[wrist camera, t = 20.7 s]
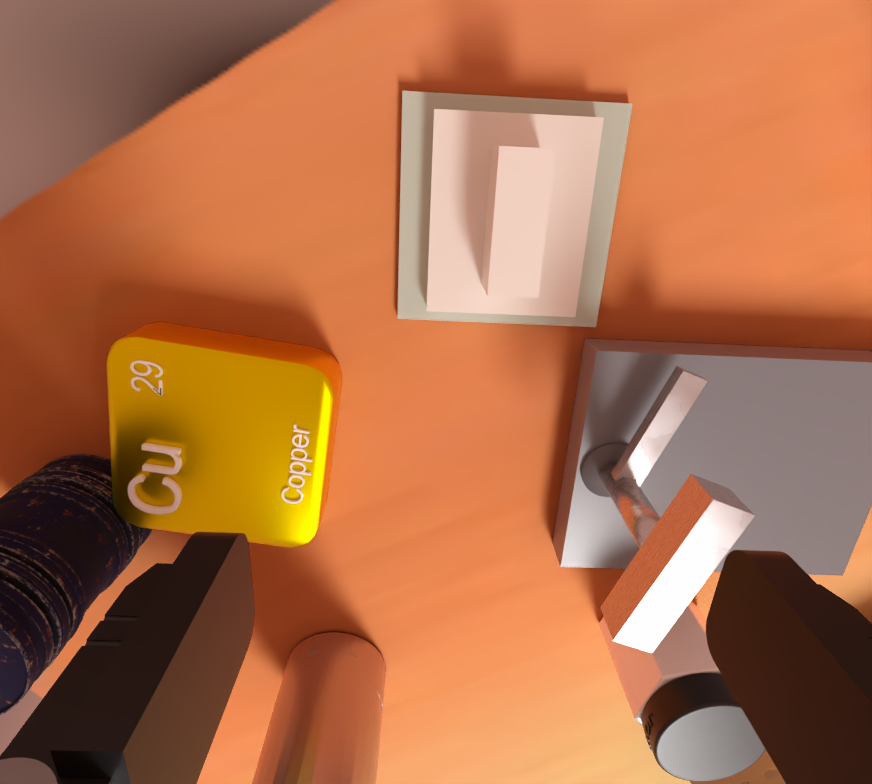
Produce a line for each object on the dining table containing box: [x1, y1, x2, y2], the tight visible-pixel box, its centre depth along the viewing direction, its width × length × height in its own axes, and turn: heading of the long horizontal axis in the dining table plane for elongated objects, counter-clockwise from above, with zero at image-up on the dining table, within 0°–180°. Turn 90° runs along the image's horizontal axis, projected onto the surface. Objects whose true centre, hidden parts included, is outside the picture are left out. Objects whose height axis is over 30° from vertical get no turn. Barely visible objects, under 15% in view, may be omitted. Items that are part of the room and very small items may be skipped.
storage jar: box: [0, 454, 152, 715], centre depth 37 cm, size 10×10×15 cm
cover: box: [427, 109, 604, 317], centre depth 32 cm, size 12×10×6 cm
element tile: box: [106, 322, 342, 547], centre depth 39 cm, size 15×15×5 cm
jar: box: [599, 600, 766, 781], centre depth 43 cm, size 9×8×12 cm
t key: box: [600, 366, 755, 653], centre depth 33 cm, size 2×14×11 cm, turn 157°
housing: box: [553, 338, 872, 575], centre depth 41 cm, size 18×23×3 cm
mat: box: [397, 91, 633, 327], centre depth 35 cm, size 14×14×1 cm
